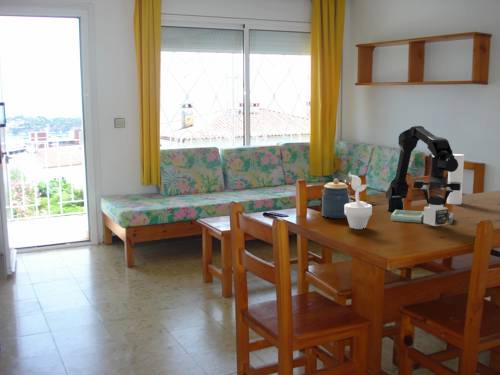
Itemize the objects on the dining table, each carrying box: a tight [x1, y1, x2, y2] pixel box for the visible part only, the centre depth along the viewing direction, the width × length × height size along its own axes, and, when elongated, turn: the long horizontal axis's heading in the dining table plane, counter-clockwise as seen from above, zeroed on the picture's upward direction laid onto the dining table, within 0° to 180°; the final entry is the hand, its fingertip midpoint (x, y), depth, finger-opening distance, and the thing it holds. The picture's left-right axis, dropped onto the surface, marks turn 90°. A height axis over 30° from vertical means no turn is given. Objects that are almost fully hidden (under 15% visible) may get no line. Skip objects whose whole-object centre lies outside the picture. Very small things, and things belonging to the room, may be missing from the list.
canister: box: [321, 178, 351, 219], centre depth 275 cm, size 13×13×18 cm
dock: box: [422, 211, 454, 225], centre depth 265 cm, size 12×11×3 cm
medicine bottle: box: [422, 195, 449, 227], centre depth 253 cm, size 7×7×12 cm
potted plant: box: [344, 171, 373, 230], centre depth 250 cm, size 13×12×25 cm
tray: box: [390, 210, 424, 224], centre depth 269 cm, size 13×13×2 cm
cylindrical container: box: [446, 153, 465, 205], centre depth 303 cm, size 7×7×25 cm
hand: (436, 205), depth 252 cm, fingers closed on medicine bottle, 6 cm apart
